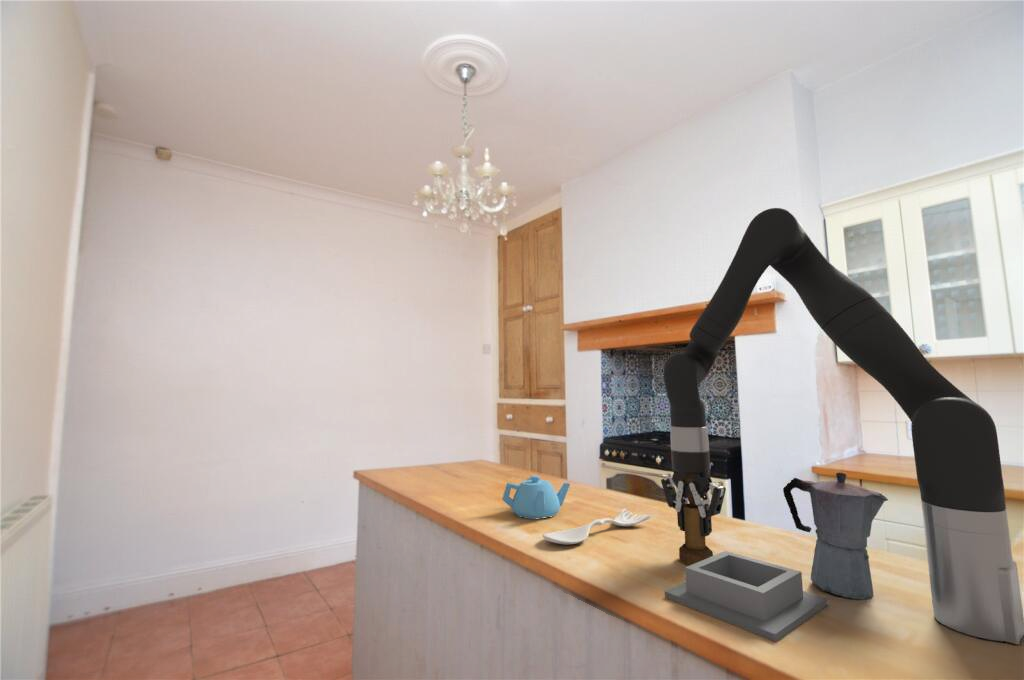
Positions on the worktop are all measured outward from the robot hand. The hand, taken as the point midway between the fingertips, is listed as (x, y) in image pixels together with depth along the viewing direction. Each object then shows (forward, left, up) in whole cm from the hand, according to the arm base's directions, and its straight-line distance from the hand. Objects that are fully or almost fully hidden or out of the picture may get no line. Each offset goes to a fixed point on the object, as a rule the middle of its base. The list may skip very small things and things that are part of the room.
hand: (694, 532), depth 96 cm
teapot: (+50, +1, -6) cm, 50 cm away
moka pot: (-23, -7, -6) cm, 25 cm away
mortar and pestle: (0, 0, -6) cm, 6 cm away
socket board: (-15, +10, -6) cm, 19 cm away
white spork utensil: (+26, +2, -6) cm, 27 cm away
